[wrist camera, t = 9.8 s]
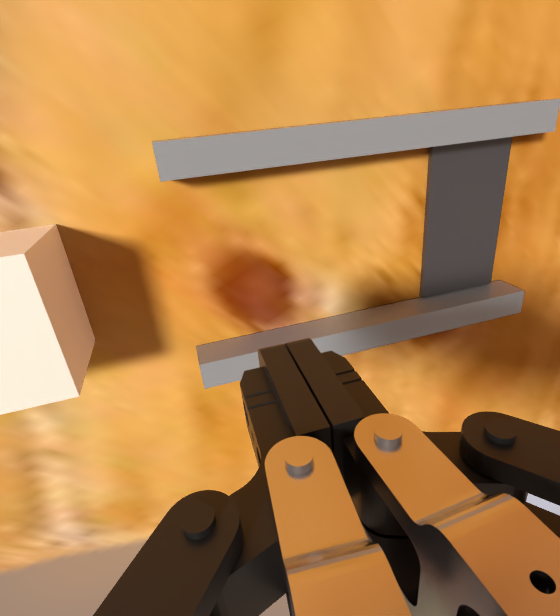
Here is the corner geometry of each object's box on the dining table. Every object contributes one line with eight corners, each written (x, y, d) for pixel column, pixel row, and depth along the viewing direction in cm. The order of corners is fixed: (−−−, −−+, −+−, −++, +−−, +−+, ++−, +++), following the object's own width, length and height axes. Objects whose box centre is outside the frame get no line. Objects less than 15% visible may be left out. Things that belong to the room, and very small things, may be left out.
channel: (528, 101, 22) (560, 98, 20) (496, 300, 27) (520, 312, 25) (152, 141, 17) (152, 142, 16) (200, 368, 23) (204, 388, 21)
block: (56, 223, 18) (23, 253, 13) (95, 339, 20) (79, 396, 16) (-58, 239, 17) (-133, 278, 12) (-2, 359, 19) (-48, 425, 15)
